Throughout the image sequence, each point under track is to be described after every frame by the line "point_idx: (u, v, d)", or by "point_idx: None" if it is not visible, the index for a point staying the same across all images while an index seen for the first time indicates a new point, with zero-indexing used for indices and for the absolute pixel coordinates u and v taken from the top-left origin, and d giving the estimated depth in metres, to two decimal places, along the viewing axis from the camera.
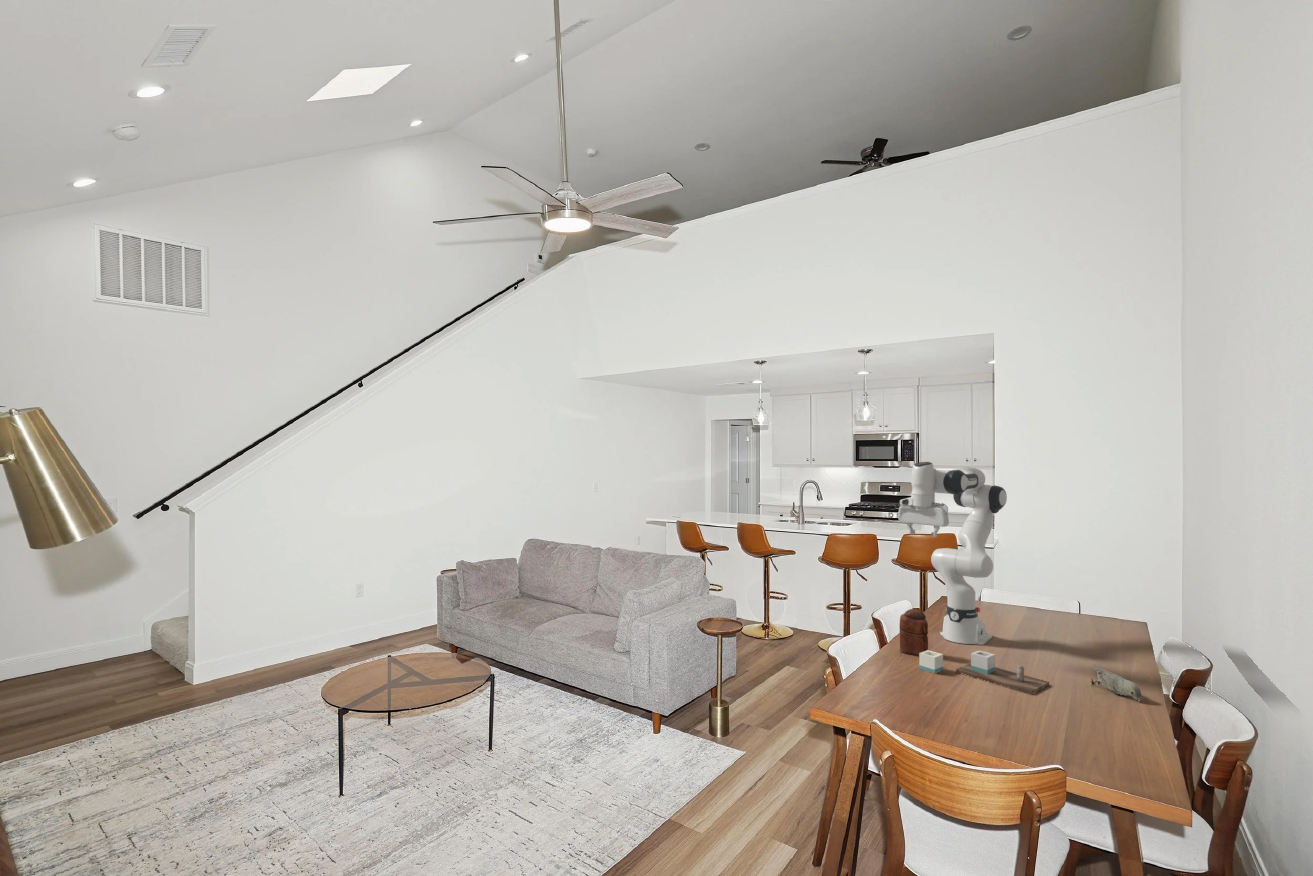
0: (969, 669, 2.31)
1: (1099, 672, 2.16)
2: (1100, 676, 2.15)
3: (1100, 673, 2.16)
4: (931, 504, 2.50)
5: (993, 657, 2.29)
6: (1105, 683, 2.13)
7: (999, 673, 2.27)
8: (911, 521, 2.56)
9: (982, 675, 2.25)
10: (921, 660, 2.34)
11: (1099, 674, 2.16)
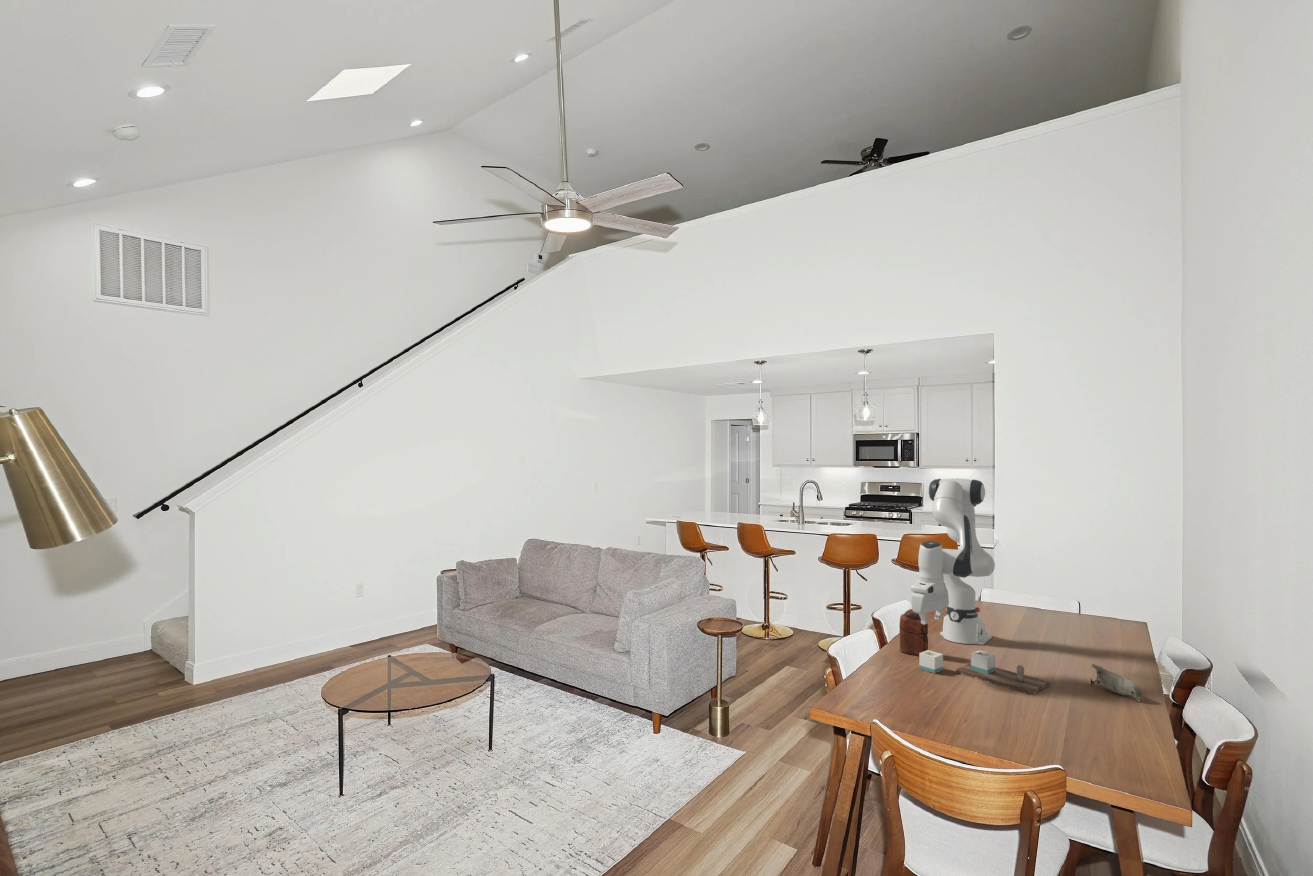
0: (969, 669, 2.31)
1: (1099, 672, 2.17)
2: (1100, 676, 2.16)
3: (1100, 673, 2.16)
4: None
5: (993, 657, 2.29)
6: (1105, 683, 2.13)
7: (999, 673, 2.27)
8: (929, 610, 2.31)
9: (982, 675, 2.25)
10: (921, 660, 2.34)
11: (1098, 674, 2.16)
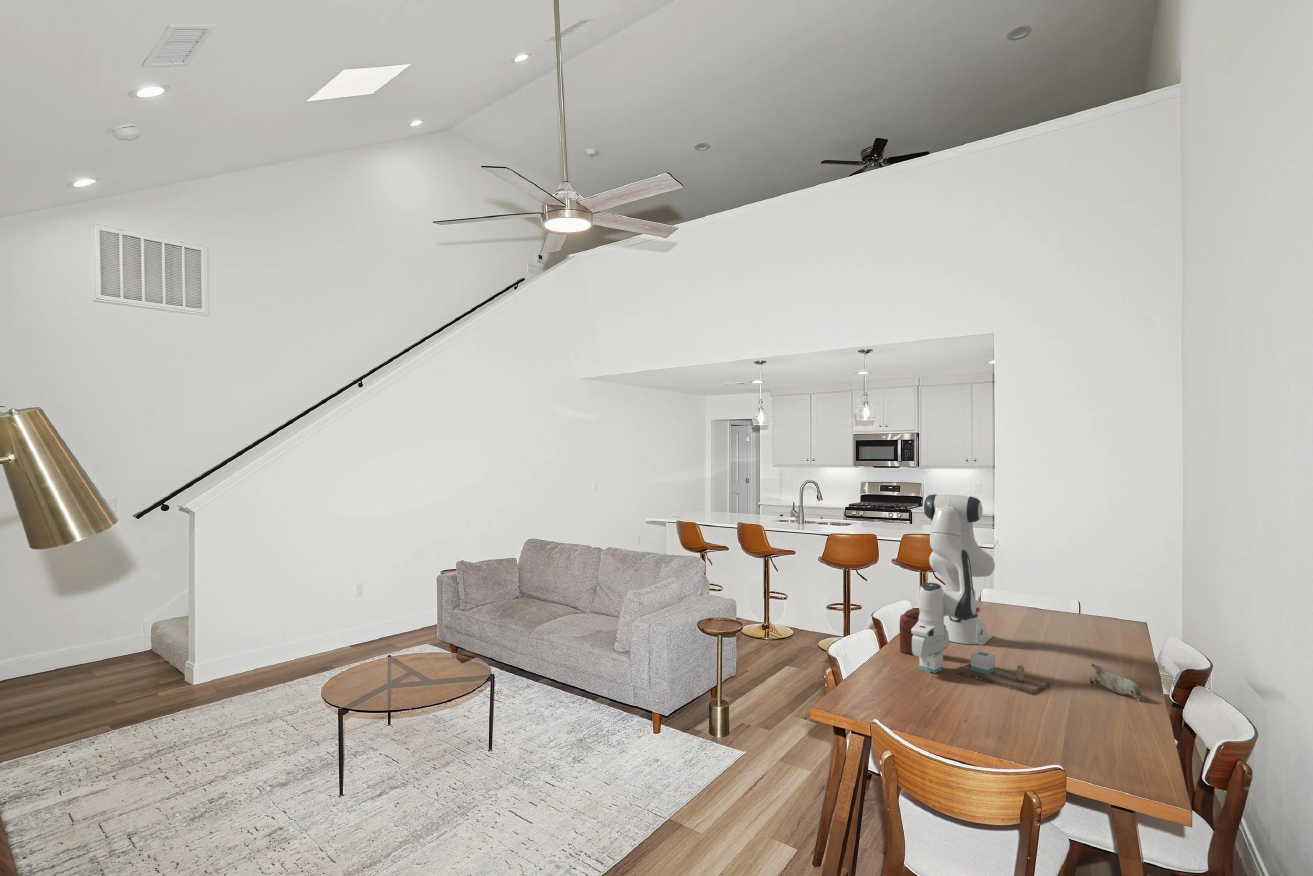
0: (969, 669, 2.31)
1: (1098, 671, 2.17)
2: (1099, 675, 2.16)
3: (1099, 672, 2.16)
4: None
5: (993, 657, 2.29)
6: (1104, 682, 2.14)
7: (999, 673, 2.27)
8: (930, 652, 2.30)
9: (982, 675, 2.25)
10: (921, 660, 2.34)
11: (1098, 673, 2.17)
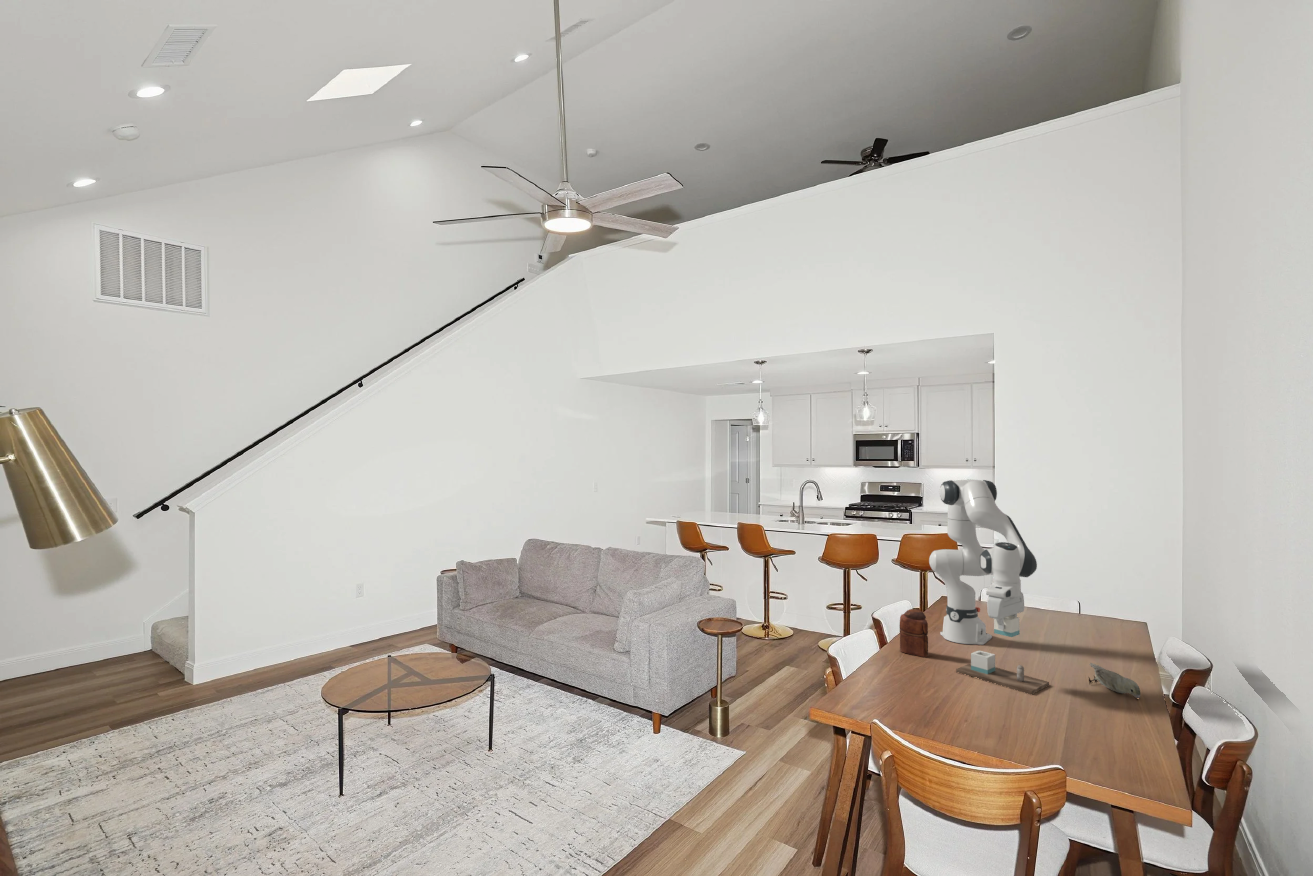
0: (969, 669, 2.31)
1: (1097, 670, 2.18)
2: (1098, 674, 2.17)
3: (1098, 671, 2.17)
4: None
5: (993, 657, 2.29)
6: (1104, 681, 2.15)
7: (999, 673, 2.27)
8: (1006, 615, 2.19)
9: (982, 675, 2.25)
10: (996, 623, 2.22)
11: (1097, 673, 2.17)
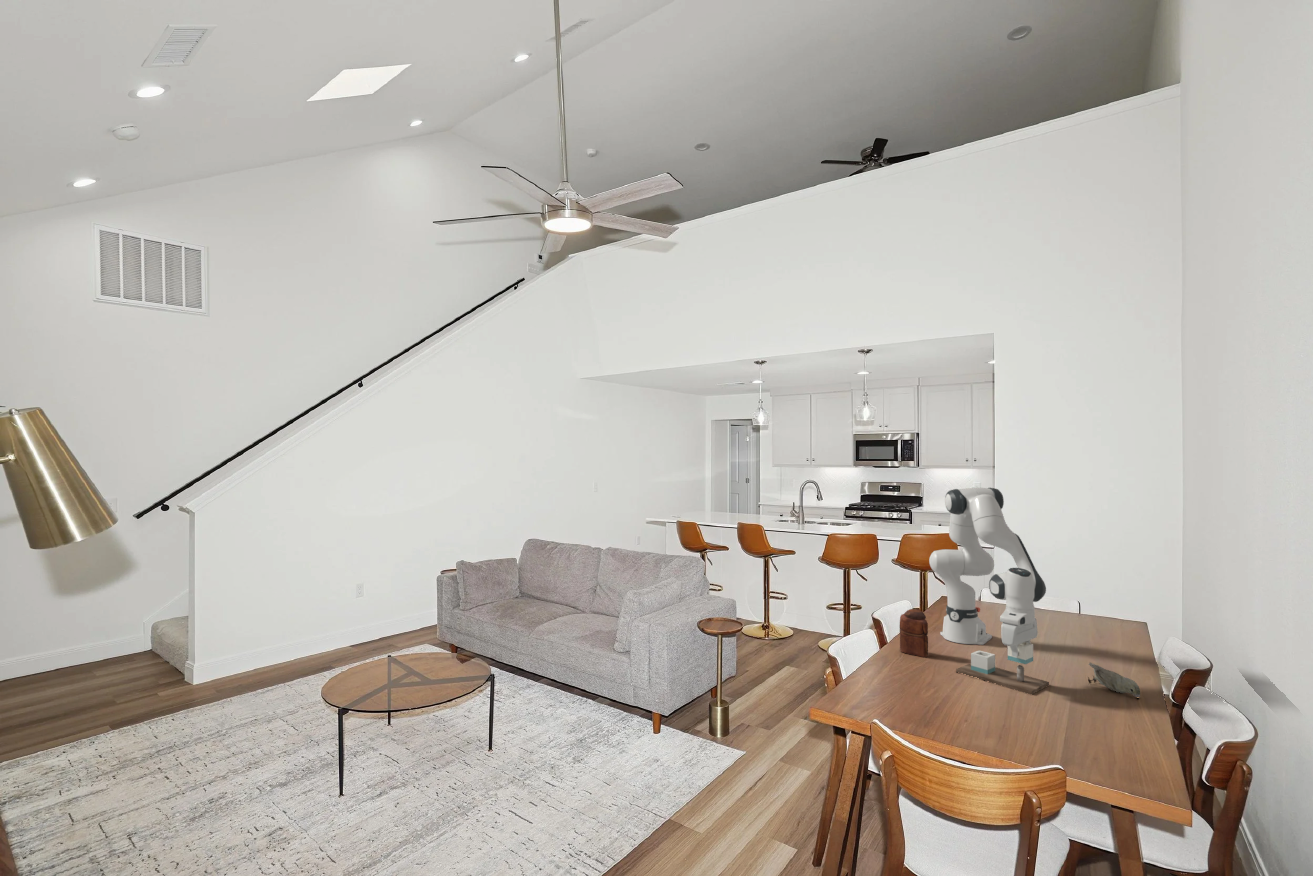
0: (969, 669, 2.31)
1: (1096, 670, 2.18)
2: (1098, 674, 2.17)
3: (1098, 671, 2.17)
4: None
5: (993, 657, 2.29)
6: (1103, 681, 2.15)
7: (999, 673, 2.27)
8: (1020, 642, 2.16)
9: (982, 675, 2.25)
10: (1009, 650, 2.20)
11: (1096, 673, 2.18)
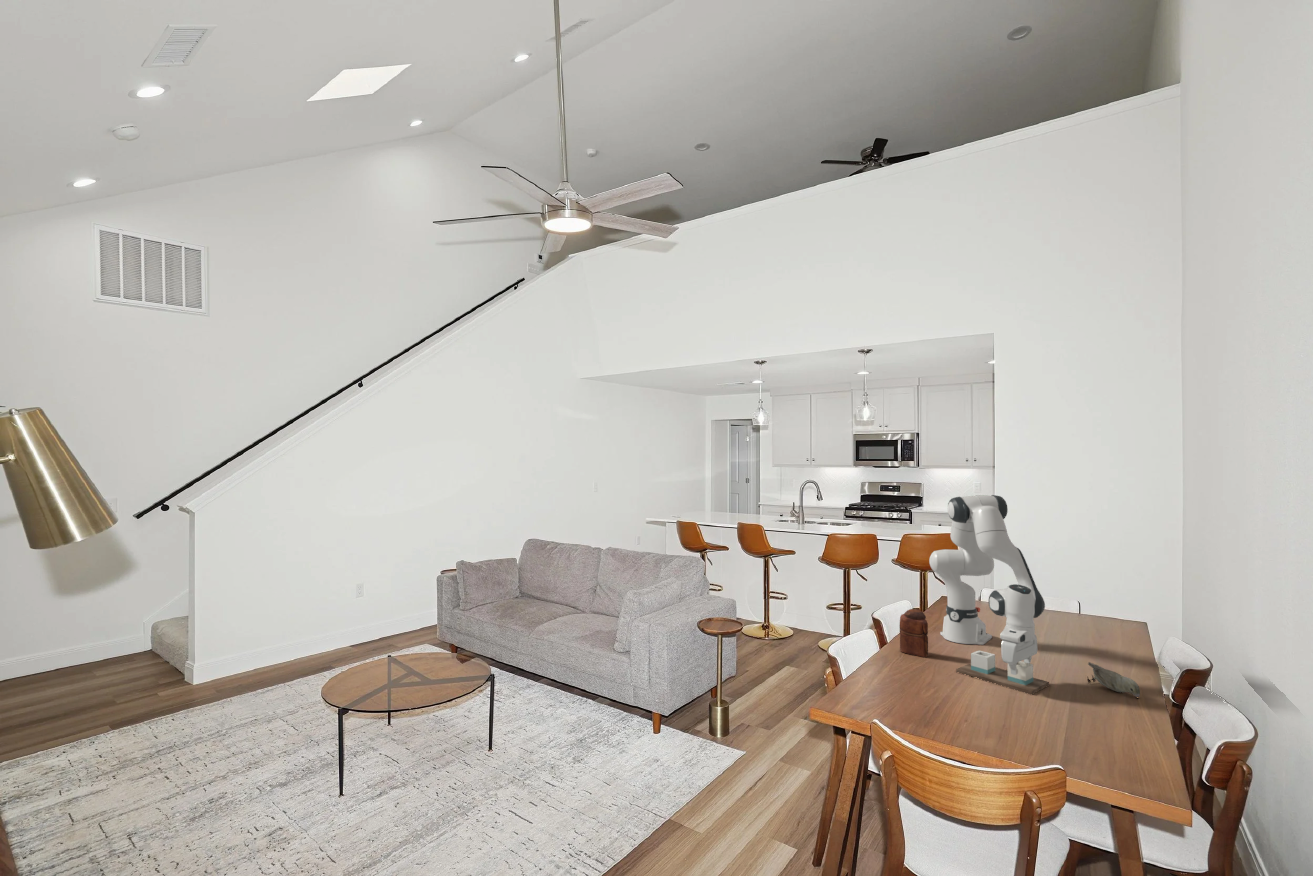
0: (969, 669, 2.31)
1: (1096, 670, 2.18)
2: (1097, 674, 2.17)
3: (1097, 671, 2.18)
4: None
5: (993, 657, 2.29)
6: (1103, 681, 2.15)
7: (999, 673, 2.27)
8: (1020, 659, 2.16)
9: (982, 675, 2.25)
10: (1009, 670, 2.20)
11: (1096, 672, 2.18)
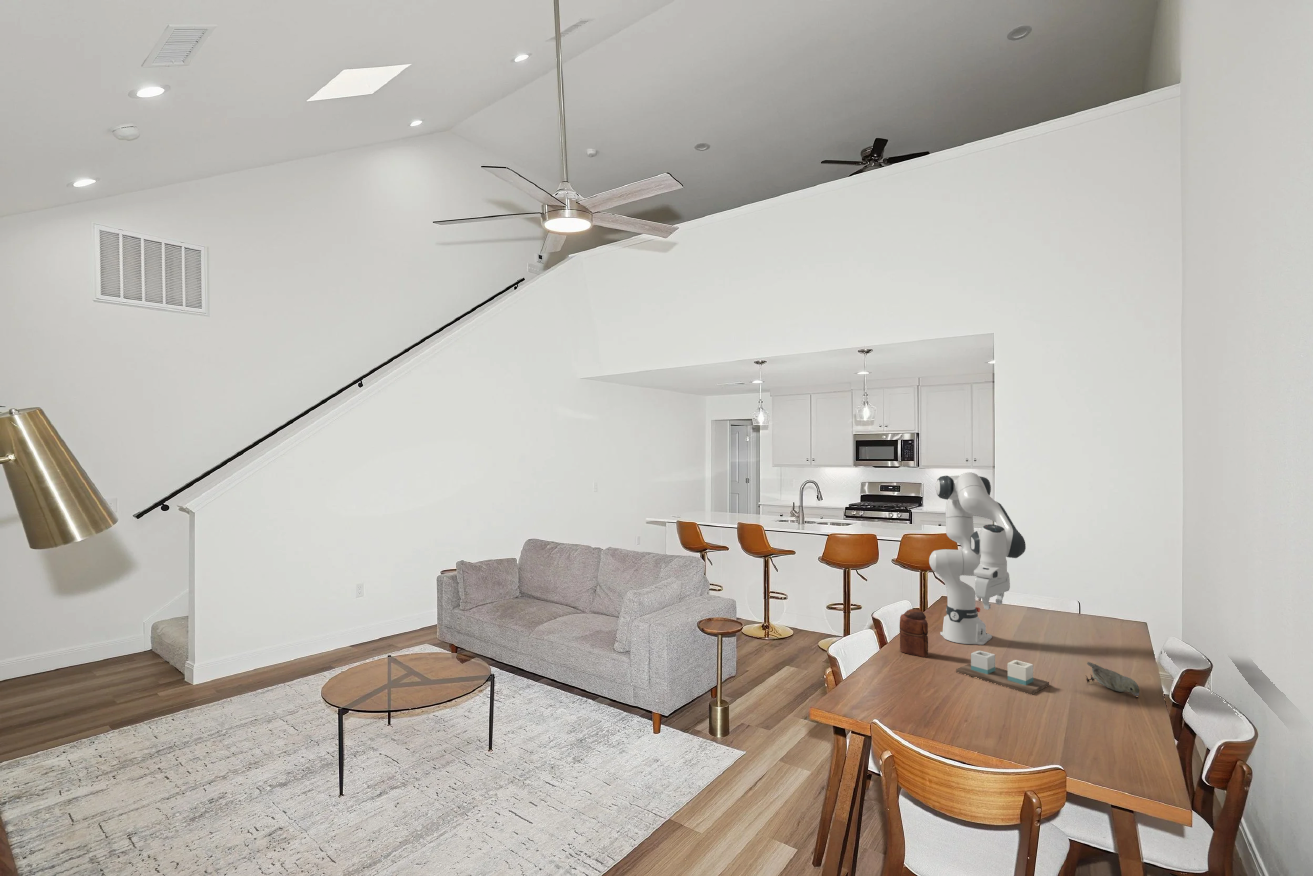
0: (969, 669, 2.31)
1: (1095, 669, 2.19)
2: (1096, 673, 2.18)
3: (1096, 670, 2.18)
4: None
5: (993, 657, 2.29)
6: (1102, 680, 2.16)
7: (999, 673, 2.27)
8: (993, 594, 2.26)
9: (982, 675, 2.25)
10: (1009, 670, 2.20)
11: (1095, 672, 2.19)
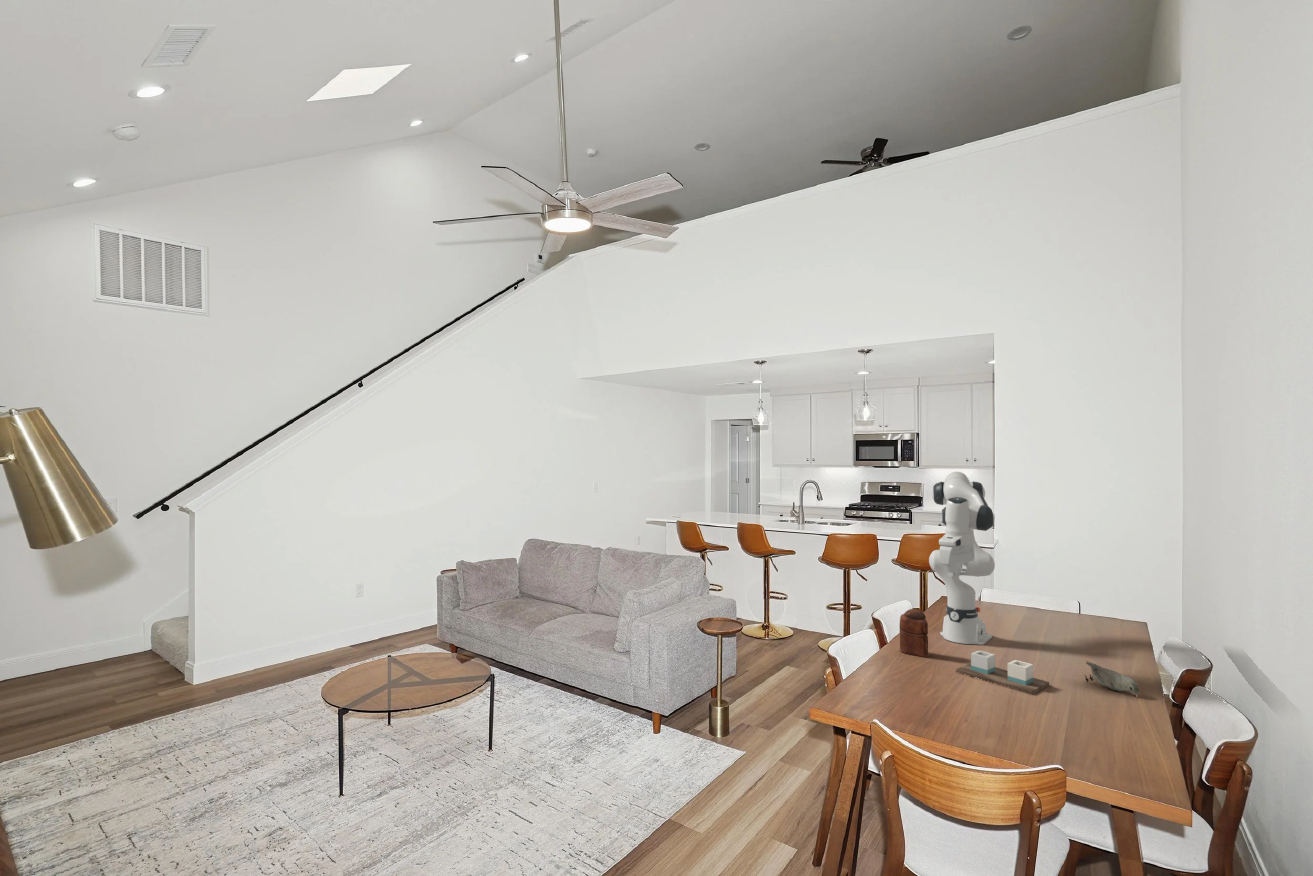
0: (969, 669, 2.31)
1: (1094, 669, 2.19)
2: (1096, 673, 2.18)
3: (1095, 670, 2.19)
4: None
5: (993, 657, 2.29)
6: (1102, 680, 2.16)
7: (999, 673, 2.27)
8: (957, 562, 2.39)
9: (982, 675, 2.25)
10: (1009, 670, 2.20)
11: (1094, 671, 2.19)
